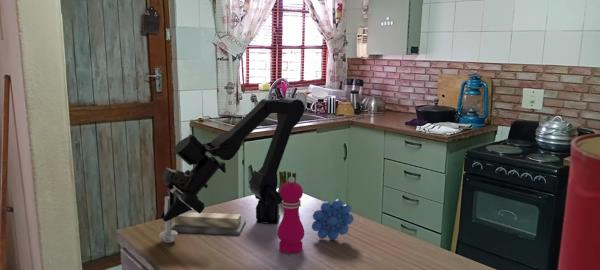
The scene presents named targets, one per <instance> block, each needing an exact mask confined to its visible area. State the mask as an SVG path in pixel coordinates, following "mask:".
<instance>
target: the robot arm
mask: <svg viewBox="0 0 600 270" xmlns="http://www.w3.org/2000/svg"><path fill="white" fill-rule="evenodd" d="M305 110H306V106H305V103H304V102H303V101H302V100H301V99H298V98H292V97H283V98H281V99H269V98H263V99H261V100H259V102H258V104H257V105H256V106H255V107H253V108H252V109H251V110H250V111H249V112H248V113H247V114H246V115H245V116H244V117H243V118H242V119H241V120H240V121H239V122H237V123H236V124H235V125H234V126H233V127H232V128H231V129H229V130H227V131H225V132H223V133H221V134H219V135H218V136H216V137H215V138H213V139H212V141H210V142H209V141H208V142H205V143H201V142H200V141H199V140H198V139H197V137H196V136H195V135H194V134H191V133H190V134H189V135H188V136H186V137H185V138H182V139H181V140H180V141H178V142H177V144H176V145H175V147H174V149H173V153H174V154H175V155H176V156H178V157H179V158H180V160H181V159H182V161H184V162H185V164H187V165H188V166H192V165H194V166H193V167H192V169H191V170H189V169H186V170H185V171H182V170H179V169H177V170H175V169H171V168H169V167H165V169H164V171H163V174H162V176H161V180H164V182H163V185H164V186H166V187H167V188H168V189H167V191H166V192H167V194H168V197H169V200H170V205H171V207H170V209H169V210H168V212H167V213H166V215H165V214H164V213H165V212H164V211H165V210H164V209H165V208H164V207H163V209H162V212H161V215H160V216H159V217H160V218H161V219H162V221H163V222H164V223H165V222H167V221H169V220H174V219H175V217H177V216H179V215H181V214H183V213H185V212H192V211H195V212H196V213H199V214H200V213H203V211H204V210H205V203H204V202H203V201H201V200H200V199H199V193H200V192H201V191H202V190H203V188H204V189H207V188H208V187H209V185H208V183H209V182H210V180H211V179H212V178H213V177H214V175H215V174H216V173H218V171H220V172H222V173H223V174H225V173H226V172H227V169H226V162H224V161H230V160H232V159H233V158H234V157H235V155H237V153H238V152H239V150H240V149H241V147H242V144H243V142H244V140H245V139H247V138H248V136H249V135H251V134H252V132H254V131H255V129H257V128H258V127H259V126H260V125H261V124H262V123H263V121H265V120H266V119H267V118H268V117H269V116H270V115H271V114H276V123H277V124H276V127H275V130H274V132H273V135H272V139H271V141H270V144H269V146H268V150H267V153H266V155H265V158H264V160H263V164H262V166H261V168H259V170H258V171H257V170H253V171H252V174H251V178H250V180H249V181H248V183H249V189H250V193H252V194H253V195H254V197H255V199H256V200H258V201H257V204H256V205H255V219H256V223H257V224H271V225H272V224H274V225H275V224H276V225H277V224H278V223H279V221H280V217H281V215H280V205H282V204H281V203H282V200H283V199H282V197H281V196H280V193H278V185H279V182H278V171H279V167H280V166H281V165H280V164H281V162H282V159H283V156H284V153H285V151H286V147H287V145H288V142H289V139H290V136H291V134H292V131H293V128H295V127H296V126H297V125H298V123H299V122H300V121H301V120H302V117H303V116H304V113H305V112H306V111H305ZM207 154H209V155H210V156H208V155H207ZM216 157H217V158H218V159H221V160H222V161H219V160H218V159H217V158H216ZM164 215H165V216H164Z"/></svg>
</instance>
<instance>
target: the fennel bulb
mask: <svg viewBox="0 0 600 270" xmlns="http://www.w3.org/2000/svg"><path fill="white" fill-rule="evenodd" d="M278 171H279V172H278V174H279V176H278V177H279V182H278V188H277V192H278V193H280V189H281V187H282V186H283V185H284V184H285V183H287V182H288V179H289V177H294V179H295V183H297V182H296V181H297V179H296V178H297V172H295V171H293V172H292V171H291V170H290V171H286V170H284V171H283V170H282V171H281V170H278ZM280 205H282V203H281V204H280Z"/></svg>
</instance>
